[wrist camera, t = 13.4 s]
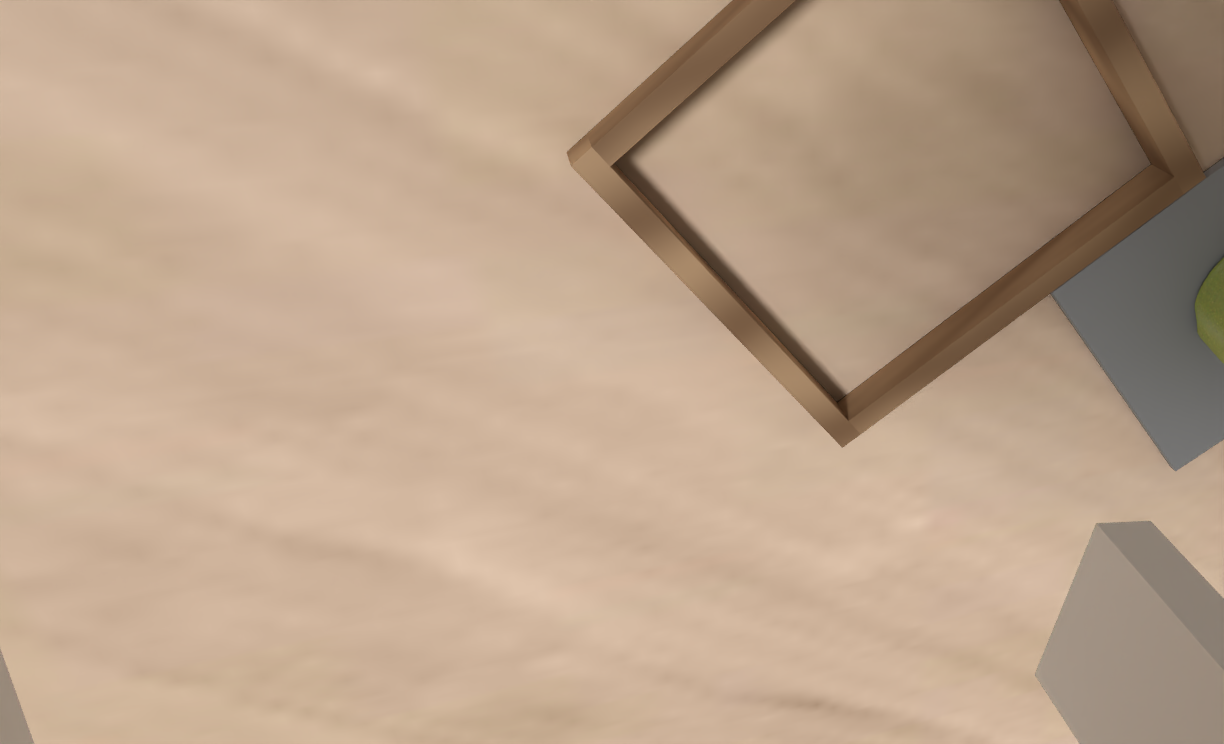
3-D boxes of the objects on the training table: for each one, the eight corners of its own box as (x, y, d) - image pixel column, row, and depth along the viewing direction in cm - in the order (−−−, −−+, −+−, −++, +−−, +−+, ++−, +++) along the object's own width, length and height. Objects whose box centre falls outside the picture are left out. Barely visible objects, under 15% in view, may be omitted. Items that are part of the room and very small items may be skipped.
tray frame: (566, 152, 36) (570, 165, 35) (974, -221, 32) (995, -220, 31) (831, 428, 45) (842, 447, 44) (1182, 164, 40) (1206, 177, 39)
